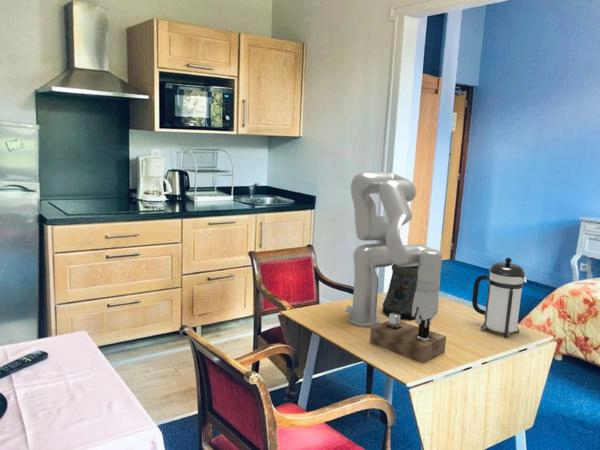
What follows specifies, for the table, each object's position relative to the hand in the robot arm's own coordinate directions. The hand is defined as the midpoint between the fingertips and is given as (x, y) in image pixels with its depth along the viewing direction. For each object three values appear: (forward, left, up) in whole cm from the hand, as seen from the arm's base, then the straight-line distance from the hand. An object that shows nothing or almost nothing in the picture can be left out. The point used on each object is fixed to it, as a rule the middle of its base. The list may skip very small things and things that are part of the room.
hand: (423, 336), depth 177 cm
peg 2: (0, 0, -6) cm, 6 cm away
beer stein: (-28, +31, -6) cm, 42 cm away
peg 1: (-12, 0, -2) cm, 12 cm away
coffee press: (+8, +43, -6) cm, 44 cm away
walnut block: (-6, 0, -6) cm, 9 cm away
